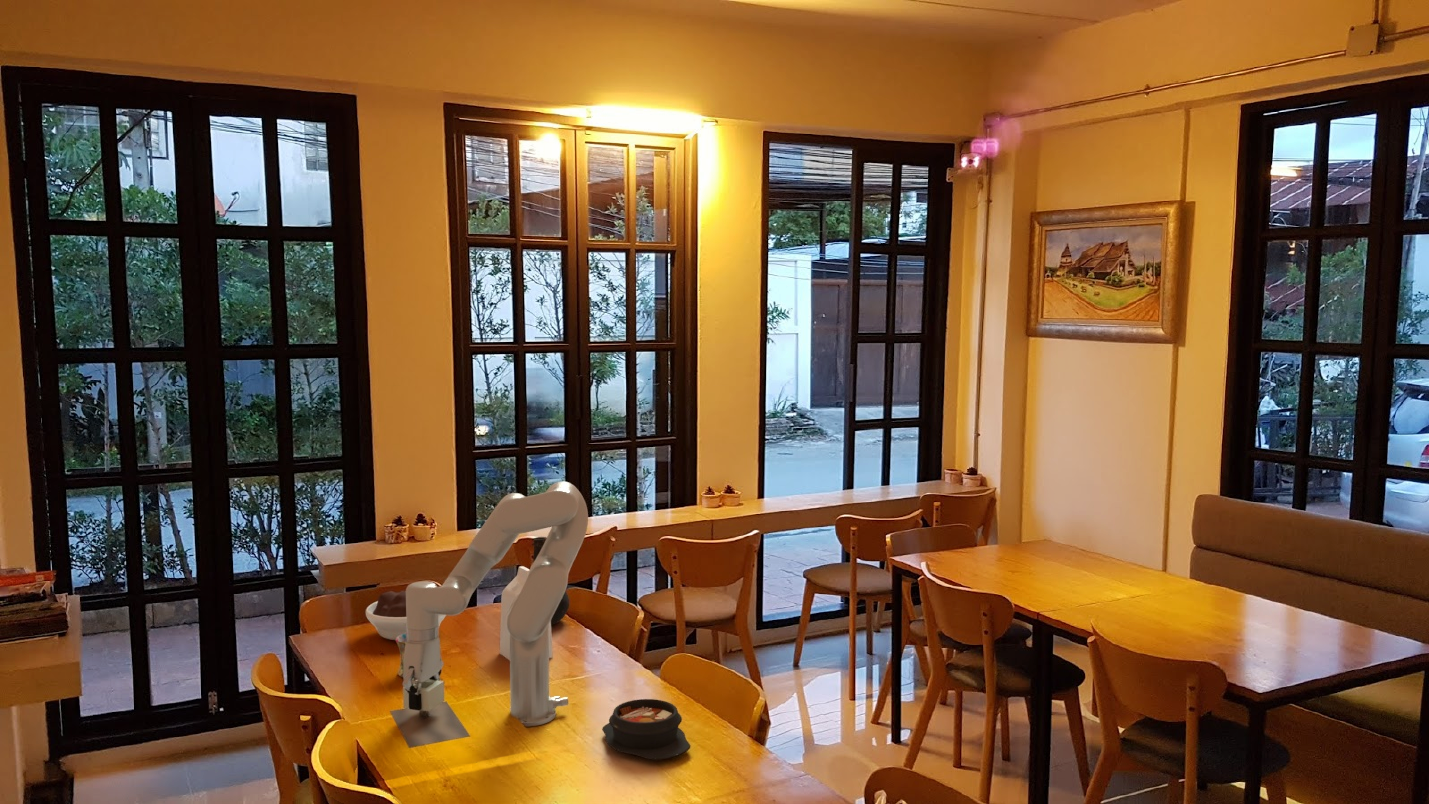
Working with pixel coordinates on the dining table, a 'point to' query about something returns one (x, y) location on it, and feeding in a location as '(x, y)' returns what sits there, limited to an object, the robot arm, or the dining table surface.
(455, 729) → the board
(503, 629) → the milk
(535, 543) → the glass bottle
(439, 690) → the white rectangular block
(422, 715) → the post
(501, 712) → the dining table surface
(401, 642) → the mug
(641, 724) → the casserole
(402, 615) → the bowl of chocolate mousse
